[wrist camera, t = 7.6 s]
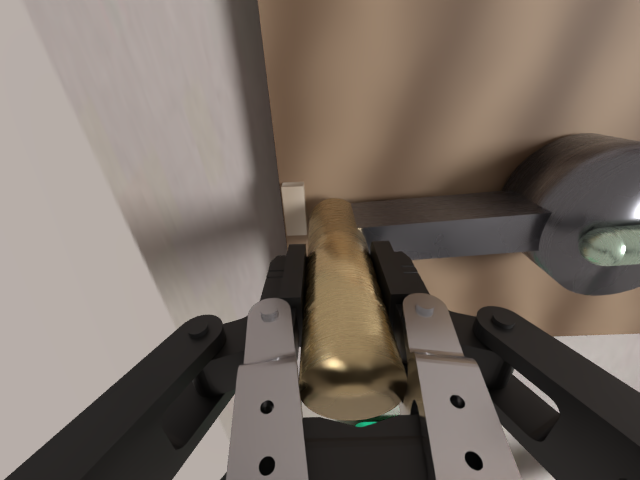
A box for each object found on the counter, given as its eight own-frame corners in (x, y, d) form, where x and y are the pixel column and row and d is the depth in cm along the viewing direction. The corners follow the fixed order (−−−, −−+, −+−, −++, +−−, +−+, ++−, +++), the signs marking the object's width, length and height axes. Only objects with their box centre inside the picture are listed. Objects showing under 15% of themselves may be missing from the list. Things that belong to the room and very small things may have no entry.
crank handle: (653, 126, 14) (1316, 213, 5) (597, 245, 17) (915, 429, 8) (303, 158, 15) (276, 287, 5) (315, 266, 18) (312, 458, 9)
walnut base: (912, -101, 12) (1067, -149, 9) (627, 314, 24) (662, 341, 21) (257, -62, 12) (242, -98, 10) (300, 325, 24) (298, 353, 22)
